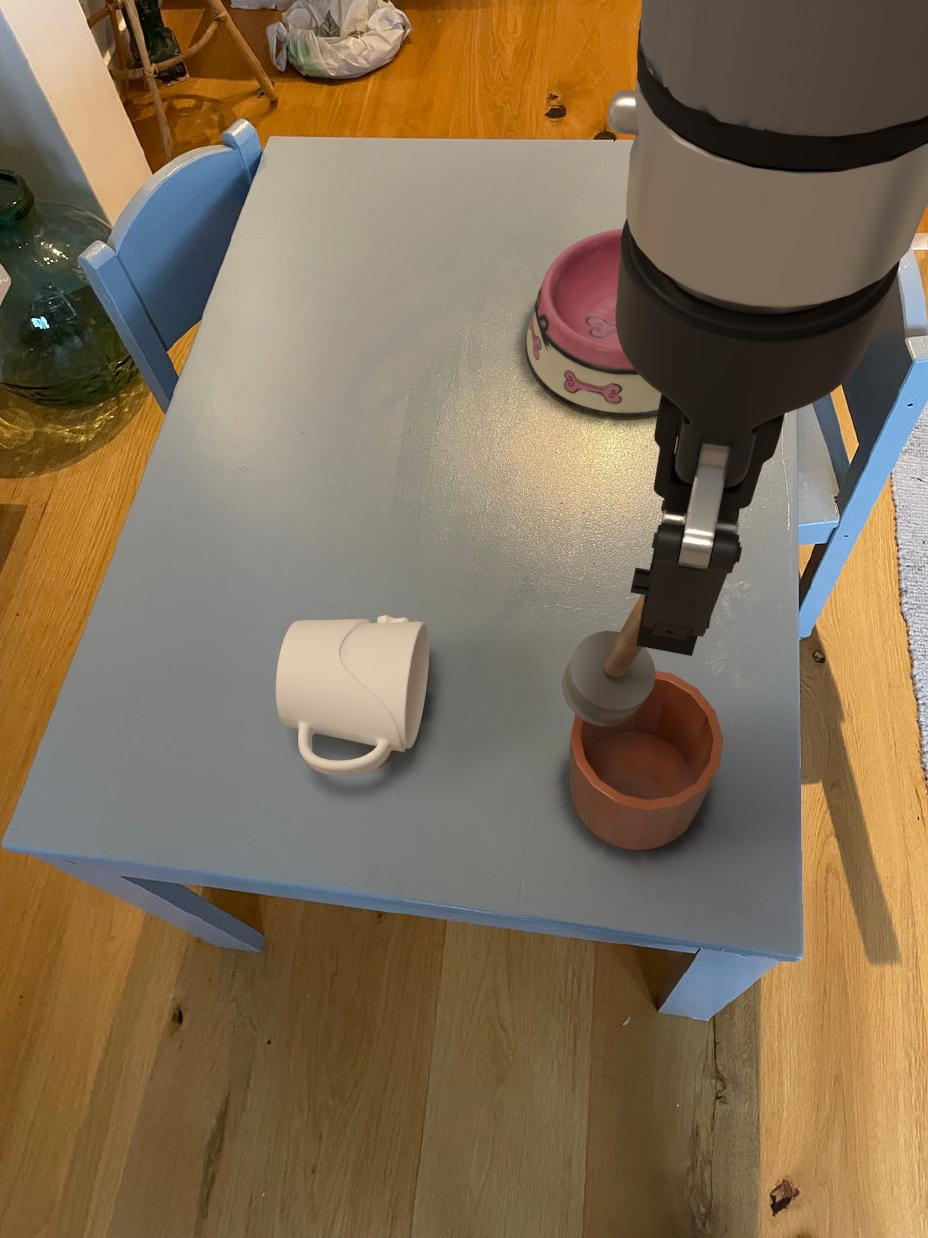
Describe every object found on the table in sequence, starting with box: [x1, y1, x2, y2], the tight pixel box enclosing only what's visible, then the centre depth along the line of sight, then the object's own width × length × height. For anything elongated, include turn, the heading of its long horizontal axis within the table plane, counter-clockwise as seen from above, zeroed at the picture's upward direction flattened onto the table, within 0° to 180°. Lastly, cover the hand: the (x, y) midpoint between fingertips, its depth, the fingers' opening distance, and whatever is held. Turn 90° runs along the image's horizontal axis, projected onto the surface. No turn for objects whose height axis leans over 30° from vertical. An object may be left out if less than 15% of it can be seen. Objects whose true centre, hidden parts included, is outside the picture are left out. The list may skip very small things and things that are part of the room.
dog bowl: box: [524, 228, 661, 419], centre depth 83 cm, size 18×19×7 cm
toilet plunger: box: [561, 594, 656, 726], centre depth 45 cm, size 5×5×21 cm
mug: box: [275, 614, 430, 777], centre depth 68 cm, size 12×9×8 cm
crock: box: [568, 670, 724, 851], centre depth 62 cm, size 9×9×10 cm
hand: (668, 625), depth 46 cm, fingers closed on toilet plunger
